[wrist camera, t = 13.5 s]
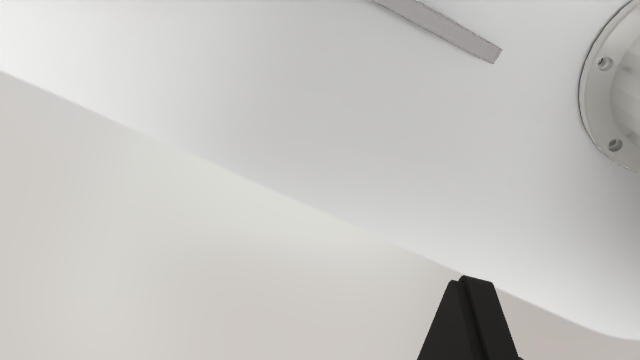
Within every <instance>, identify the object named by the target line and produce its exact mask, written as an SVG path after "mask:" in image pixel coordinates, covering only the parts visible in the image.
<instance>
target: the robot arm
mask: <svg viewBox="0 0 640 360" xmlns="http://www.w3.org/2000/svg"><path fill="white" fill-rule="evenodd" d="M602 58H603V62H602V63H601V64H598V62H599V61H600V60H601V59H602ZM579 104H580V111H581V117H582V120H583V122H584V125H585V128H586V130H587V133H588V134H589V136H590V137H591V138H592V140H593V141H594V143H595V144H596V146H597V147H598V148H599V149H600V150H602V151H603V152H604V153H605V154H606V155H607V156H608V157H609V158H611V159H612V160H614V161H615V162H616V163H618V164H619V165H620V166H623V167H625V168H627V169H630V170H632V171H634V172H637V173H640V0H633V1H632V2H630V3H629V4H628V5H626V6H625V7H624V8H623V9H621V10H620V11H619V13H618V14H617V15H616V16H615V17H614V18H613V19H612V20H611V21H610V22H609V23H608V24H607V25H606V27H605V28H604V30H603V31H602V32H601V34H600V35H599V37H598V38H597V40H596V41H595V43H594V44H593V47H592V49H591V51H590V53H589V55H588V57H587V60H586V62H585V65H584V69H583V73H582V76H581V80H580V91H579ZM612 140H613V141H612ZM611 141H612V142H611ZM610 142H611V143H610ZM417 360H523V359H522V358H521V357H518V354H517V351H516V348H515V345H514V342H513V340H512V337H511V334H510V331H509V328H508V325H507V322H506V320H505V317H504V314H503V311H502V308H501V305H500V303H499V299H498V297H497V294H496V291H495V288H494V285H493V283H492V282H489V281H485V280H481V279H477V278H473V277H469V276H465V275H463V276H462V277H461V278H460V279H459V281H454V280H451V281H450V282H449V284H448V286H447V288H446V290H445V293H444V295H443V298H442V300H441V302H440V305H439V307H438V310H437V312H436V315H435V317H434V320H433V322H432V325H431V327H430V330H429V332H428V334H427V337H426V339H425V342H424V344H423V347H422V349H421V351H420V354H419V356H418V359H417Z"/></svg>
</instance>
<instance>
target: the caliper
mask: <svg viewBox="0 0 640 360" xmlns="http://www.w3.org/2000/svg"><path fill="white" fill-rule="evenodd" d="M374 1H376V2H377V3H379V4H381V5H383V6H385V7H387V8H388V9H390V10H392V11H394V12H396V13H398V14H399V15H401V16H403V17H405V18H407V19H409V20H410V21H412V22H414V23H416V24H418V25H420V26H422V27H423V28H425V29H427V30H429V31H431V32H433V33H434V34H436V35H438V36H440V37H442V38H444V39H445V40H447V41H449V42H451V43H453V44H455V45H457V46H458V47H460V48H462V49H464V50H466V51H468V52H469V53H471V54H473V55H475V56H477V57H479V58H482V59H484V60H486V61H488V62H489V63H492V64H493V63H494V62H495V60H496V59H497V57H498V56H499V54H500V53H501V51H502V49H500V48H498V47H496V46H495V45H493V44H491V43H489V42H487V41H486V40H484V39H483V38H481V37H479V36H477V35H476V34H474V33H472V32H470V31H469V30H467V29H465V28H463V27H462V26H460V25H458V24H456V23H455V22H453V21H451V20H449V19H447V18H446V17H444V16H442V15H440V14H438V13H437V12H435V11H433V10H431V9H429V8H428V7H426V6H424V5H422V4H421V3H419V2H417V1H415V0H374Z"/></svg>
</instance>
